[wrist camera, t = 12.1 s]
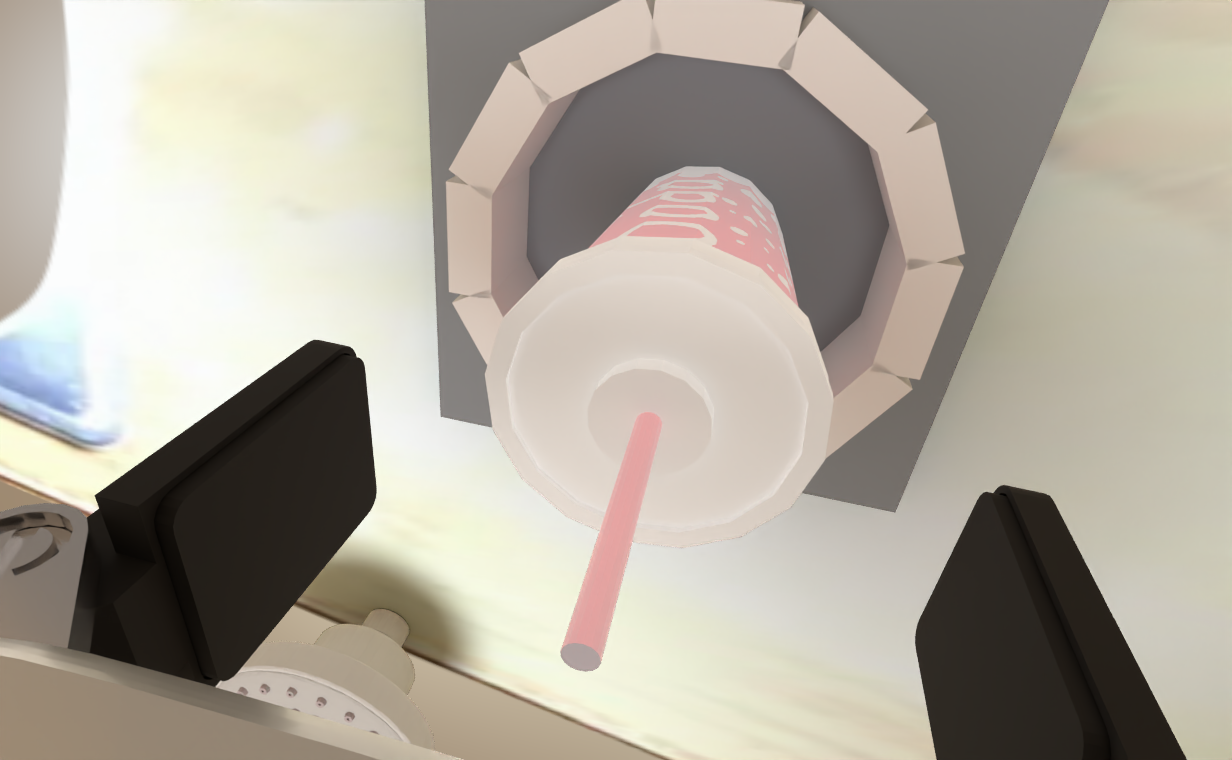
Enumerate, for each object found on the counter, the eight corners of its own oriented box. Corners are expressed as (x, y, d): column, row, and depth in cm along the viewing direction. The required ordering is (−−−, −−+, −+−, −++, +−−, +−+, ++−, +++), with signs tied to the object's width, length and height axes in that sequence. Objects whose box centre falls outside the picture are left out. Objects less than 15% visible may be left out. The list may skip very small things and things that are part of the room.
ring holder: (1110, -55, 15) (1208, -66, 12) (890, 489, 24) (909, 579, 20) (440, -126, 17) (352, -155, 14) (454, 399, 26) (401, 466, 22)
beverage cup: (842, 162, 18) (974, 534, 6) (775, 363, 21) (772, 866, 9) (613, 113, 18) (307, 361, 6) (582, 316, 21) (341, 732, 10)
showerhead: (177, 650, 25) (432, 758, 25) (297, 517, 31) (501, 604, 31) (178, 772, 30) (389, 862, 30) (281, 637, 36) (456, 712, 36)
